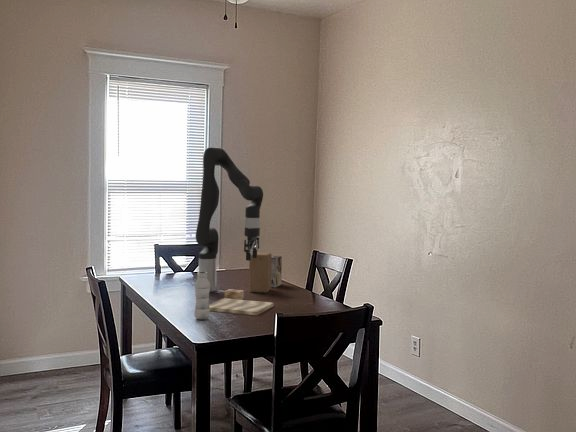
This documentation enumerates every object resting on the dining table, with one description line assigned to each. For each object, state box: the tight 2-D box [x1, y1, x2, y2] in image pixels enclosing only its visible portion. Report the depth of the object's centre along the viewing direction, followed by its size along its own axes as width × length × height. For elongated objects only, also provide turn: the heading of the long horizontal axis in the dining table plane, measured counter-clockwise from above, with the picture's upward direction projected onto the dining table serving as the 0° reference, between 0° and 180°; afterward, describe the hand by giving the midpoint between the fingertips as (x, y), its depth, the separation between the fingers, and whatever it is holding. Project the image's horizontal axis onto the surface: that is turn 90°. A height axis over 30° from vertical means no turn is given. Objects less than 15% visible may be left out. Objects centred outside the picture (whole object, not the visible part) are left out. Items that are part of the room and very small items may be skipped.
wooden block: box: [248, 251, 273, 294], centre depth 308 cm, size 10×10×20 cm
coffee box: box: [271, 255, 283, 288], centre depth 323 cm, size 9×6×16 cm
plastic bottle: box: [193, 271, 211, 321], centre depth 247 cm, size 6×7×20 cm
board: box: [209, 297, 274, 316], centre depth 269 cm, size 26×20×2 cm
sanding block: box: [224, 288, 245, 300], centre depth 287 cm, size 8×5×4 cm, turn 68°
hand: (251, 259), depth 288 cm, fingers open, 8 cm apart
